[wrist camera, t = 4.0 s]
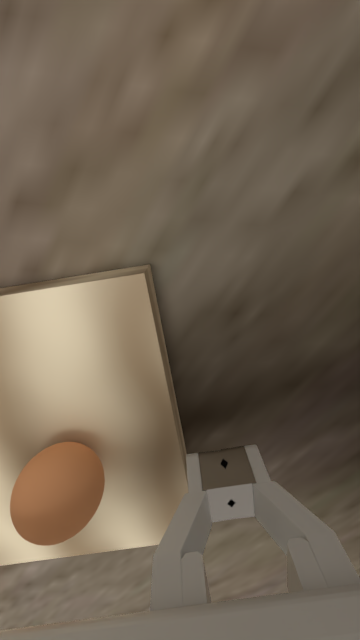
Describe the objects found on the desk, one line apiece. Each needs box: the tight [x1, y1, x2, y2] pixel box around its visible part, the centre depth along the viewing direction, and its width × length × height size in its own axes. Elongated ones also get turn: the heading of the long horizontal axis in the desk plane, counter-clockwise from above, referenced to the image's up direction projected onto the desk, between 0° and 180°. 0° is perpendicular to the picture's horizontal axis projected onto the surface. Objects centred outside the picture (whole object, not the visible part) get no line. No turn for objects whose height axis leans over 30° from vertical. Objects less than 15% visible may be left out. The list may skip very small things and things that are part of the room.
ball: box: [10, 442, 105, 546], centre depth 10 cm, size 4×4×4 cm
